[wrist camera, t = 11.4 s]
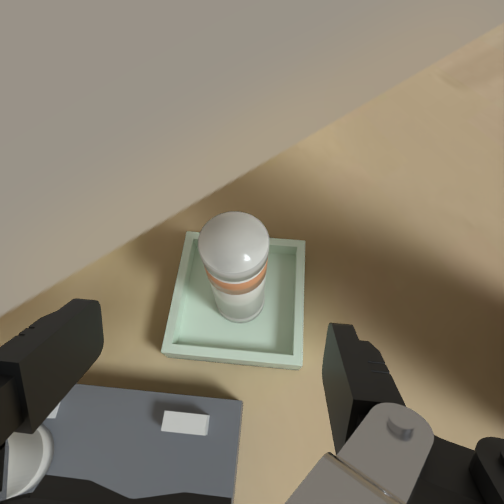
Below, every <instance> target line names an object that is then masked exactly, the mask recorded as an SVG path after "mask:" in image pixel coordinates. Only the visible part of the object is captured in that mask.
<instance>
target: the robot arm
mask: <svg viewBox="0 0 504 504" xmlns="http://www.w3.org/2000/svg"><path fill="white" fill-rule="evenodd" d="M103 343H104V337H103V327H102V316H101V307H100V304H99V302H98V301H96V300H86V299H73V300H71V301H70V302H69V303H67V304H66V305H65V306H63V307H62V308H61V309H59V310H58V311H56V312H53V313H51V314H49V315H46V316H44V317H42V318H40V319H39V320H37V321H36V322H34V323H33V324H32V325H30V326H29V328H26V329H25V330H23V331H22V332H21V333H19V335H18V336H15V337H14V338H12V339H11V340H10V341H8V342H7V343H5V344H4V345H3V346H1V347H0V504H231V499H232V498H228V497H220V496H212V495H204V494H196V493H188V492H181V493H174V494H167V495H159V496H152V497H145V498H137V499H132V498H128V497H125V496H123V495H121V494H119V493H117V492H114V491H112V490H110V489H108V488H106V487H104V486H101V485H99V484H97V483H95V482H93V481H91V480H85V479H77V478H69V477H61V476H53V475H45V476H44V477H43V479H42V480H41V481H40V483H39V484H38V486H37V487H36V488H35V490H34V491H33V492H31V493H26V494H22V495H18V496H14V497H11V498H8V499H6V497H7V479H8V462H9V443H8V438H9V437H10V436H11V434H12V433H13V432H17V433H26V434H33V433H34V432H35V431H36V430H37V429H38V428H39V426H40V425H41V424H42V423H43V422H44V421H45V419H46V418H47V417H48V416H49V415H50V413H51V412H52V411H53V410H54V409H55V408H56V406H57V405H58V404H59V403H60V402H61V401H62V399H63V398H64V397H65V396H66V395H67V394H68V392H69V391H70V390H71V389H72V388H73V387H74V385H75V384H76V383H77V382H78V381H79V379H80V378H81V377H82V376H83V375H84V374H85V372H86V371H87V370H88V369H89V368H90V367H91V365H92V364H93V363H94V362H95V361H96V360H97V358H98V357H99V355H100V354H101V351H102V348H103ZM322 379H323V385H324V391H325V396H326V402H327V407H328V413H329V419H330V424H331V430H332V435H333V441H334V446H335V452H336V456H335V455H333V454H332V453H330V452H328V453H326V454H325V455H324V456H323V457H322V458H321V459H320V460H319V461H318V463H317V464H316V465H315V466H314V468H313V469H312V470H311V471H310V473H309V474H308V475H307V476H306V478H305V479H304V480H303V481H302V483H301V484H300V485H299V486H298V488H297V489H296V490H295V491H294V493H293V494H292V495H291V496H290V498H289V499H288V500H287V501H286V503H285V504H504V439H501V438H496V437H486V438H482V439H481V440H479V441H478V443H477V445H476V448H475V451H474V450H471V449H469V448H466V447H463V446H460V445H457V444H454V443H452V442H449V441H446V440H444V439H441V438H439V437H437V436H435V435H434V434H433V431H432V429H431V427H430V425H429V424H428V423H427V422H426V420H425V419H424V418H423V417H421V416H420V415H419V414H418V413H416V412H415V411H413V410H411V409H409V408H407V407H406V405H405V403H404V401H403V399H402V397H401V395H400V393H399V391H398V389H397V387H396V385H395V383H394V380H393V378H392V376H391V374H389V370H388V368H387V366H386V365H385V362H384V360H383V358H382V356H381V353H380V351H379V350H377V349H376V348H375V347H374V346H373V345H372V344H371V343H370V342H369V341H360V340H359V339H358V336H357V334H356V331H355V329H354V327H353V325H349V324H338V323H329V326H328V331H327V338H326V344H325V351H324V357H323V365H322Z"/></svg>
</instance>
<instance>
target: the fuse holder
mask: <svg viewBox="0 0 504 504" xmlns="http://www.w3.org/2000/svg"><path fill="white" fill-rule="evenodd" d="M242 411H243V402H242V401H239V400H229V399H219V398H209V397H200V396H190V395H180V394H170V393H161V392H151V391H141V390H132V389H122V388H112V387H102V386H93V385H83V384H75V385H74V387H73V388H72V389H71V390H70V391H69V392H68V394H67V395H66V396H65V397H64V398H63V399H62V401H61V402H60V403H59V404H58V405H57V406H56V408H55V409H54V410H53V411H52V412H51V413H50V415H49V416H48V417H47V418H46V419H45V421H44V422H43V423H42V424H44V425H45V426H46V427H47V428H48V429H49V430H50V432H51V433H52V436H53V439H54V456H53V460H52V463H51V465H50V467H49V469H48V471H47V473H46V475H53V476H61V477H69V478H77V479H85V480H91V481H93V482H95V483H97V484H99V485H101V486H104V487H106V488H108V489H110V490H112V491H114V492H117V493H119V494H121V495H123V496H125V497H128V498H132V499H137V498H145V497H152V496H159V495H167V494H174V493H181V492H188V493H196V494H204V495H212V496H220V497H228V498H232V499H231V504H234V494H235V484H236V473H237V463H238V452H239V442H240V432H241V421H242ZM39 483H40V482H39ZM39 483H38V484H39ZM38 484H37V485H36V486H35V487H34V488H32V489H31V490H29V491H28V492H26V493H31V492H33V491H34V490H35V488H36V487H37V486H38ZM26 493H24V494H26ZM21 495H22V494H21Z"/></svg>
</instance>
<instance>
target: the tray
mask: <svg viewBox="0 0 504 504" xmlns="http://www.w3.org/2000/svg"><path fill="white" fill-rule="evenodd" d="M199 234H200V232H190V231H187V232H186V237H185V242H184V246H183V251H182V256H181V260H180V265H179V270H178V274H177V279H176V284H175V288H174V293H173V298H172V303H171V307H170V312H169V317H168V321H167V326H166V331H165V335H164V340H163V345H162V349H161V353H162V354H164V355H165V356H167V357H168V358H177V359H188V360H198V361H208V362H218V363H229V364H239V365H249V366H259V367H270V368H280V369H290V370H299V369H300V368H301V367H302V362H303V319H304V275H305V241H304V240H291V239H278V238H269V254H268V262H267V272H266V280H265V301H264V306H263V309H262V311H261V313H260V314H259V315H258V316H257V317H256V318H255V319H254V320H252V321H250V322H247V323H241V324H240V323H233V322H230V321H228V320H226V319H225V318H224V317H223V316H222V315H221V314H220V312H219V311H218V308H217V305H216V302H215V297H214V294H213V291H212V287H211V284H210V281H209V279H208V277H207V274H206V271H205V267H204V265H203V262H202V259H201V256H200V253H199V250H198V237H199Z"/></svg>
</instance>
